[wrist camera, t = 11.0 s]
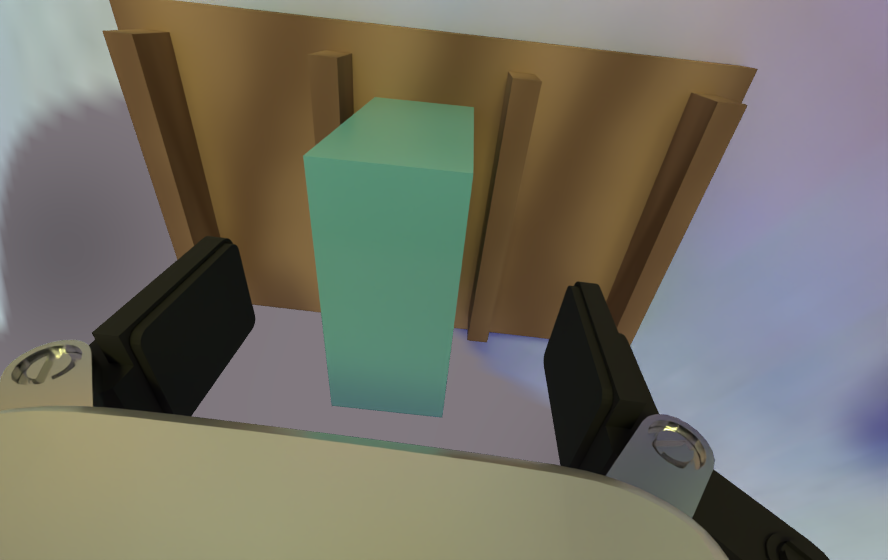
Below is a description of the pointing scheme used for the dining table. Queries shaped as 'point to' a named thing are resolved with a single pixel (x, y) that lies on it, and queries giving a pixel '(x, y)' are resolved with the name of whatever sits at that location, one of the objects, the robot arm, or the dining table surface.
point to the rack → (495, 148)
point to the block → (391, 249)
